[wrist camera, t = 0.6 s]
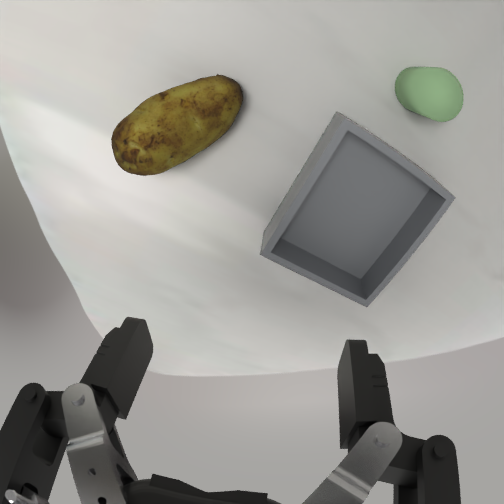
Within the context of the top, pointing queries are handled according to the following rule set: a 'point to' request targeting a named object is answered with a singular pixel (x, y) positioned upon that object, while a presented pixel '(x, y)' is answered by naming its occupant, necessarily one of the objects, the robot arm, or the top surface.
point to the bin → (354, 213)
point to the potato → (176, 125)
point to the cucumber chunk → (430, 92)
